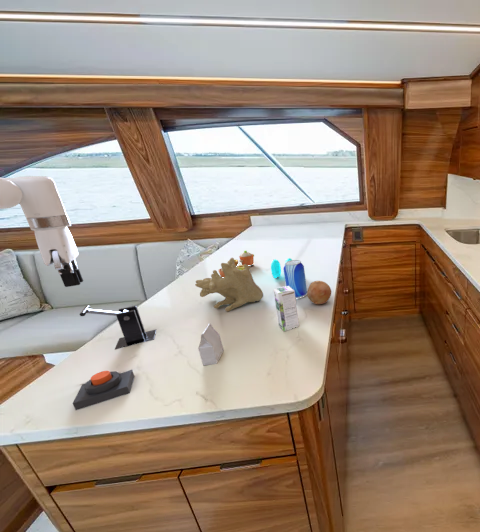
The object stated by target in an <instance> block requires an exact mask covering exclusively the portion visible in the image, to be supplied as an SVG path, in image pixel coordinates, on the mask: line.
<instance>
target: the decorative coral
mask: <svg viewBox="0 0 480 532" xmlns="http://www.w3.org/2000/svg"><path fill="white" fill-rule="evenodd" d="M234 259H235V258H234V257H230V259H229V260H228V261H229V262H228V261H227V262H228V263H227V262H221V263H220V266H221V268H222V270H223V272H224V274H225V277H224V278H222V277H221V276H220V273H219V272H218V271H217V270H216V269H213V270H212V273H211V275H210V277H205V278H203V279H196V280H195V287H197V288H199V289H201V290H200V292H199V297H201V298H204V297H207V296H208V295H210V294H219V295H221V296H222V297H224V299H223V300H219V301H217V302H216V304H214V305H213V309H219V308H220V307H221V306H226V307H225V308H224V311H225V312H227V313H228V312H231V311H232V310H233V309H236V308H240V307H241V306H243V305H245V304H247V303H256V302H255V301H257V302H260V301H261V300H262V299H263V298H264V293H263V290H262V289H261V287H260V286H259V285H257V283H256V282H255V280H254V277H253V274H252V272H251V267H250V266H247V264H244V267H245V269H244V270H239V269H238V268H237V267H236V265H235V261H234ZM226 263H227V264H226Z"/></svg>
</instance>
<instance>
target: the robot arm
mask: <svg viewBox="0 0 480 532" xmlns="http://www.w3.org/2000/svg"><path fill="white" fill-rule="evenodd" d="M18 205H20V208H21V209H22V212H23V214H24V216H25V219H26V221H27V223H28V226H29V228H30V231H34V237H35V241H36V244H37V247H38V250H39V254H40V256H41V258H42V261H43V264H44V265H45V266H47V267H49V266H50V267H51V266H52V265H53V266H54V269H55V270H57V272H58V274H59V276H60V278H61V281H62V284H63V286H64V288H69V287H75V286H80V285H81V283H84V278H83V276H82V274H81V271H80V269H79V265H78V263H77V260H76V259H77V258H78V257H79V251H78V247H77V244H76V242H75V240H74V238H73V235H72V233H71V231H70V229H69V227H72V224H71V221H70V218H69V216H68V213H67V210H66V207H65V206H64V202H63V201H62V198H61V195H60V192H59V189H58V187H57V184H56V182H55V180H54V179H53V178H52V177H49V176H44V175H34V176H33V175H32V176H31V175H29V176H16V177H0V210H7V209H12V208H14V207H16V206H18Z"/></svg>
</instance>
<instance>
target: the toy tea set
mask: <svg viewBox="0 0 480 532" xmlns="http://www.w3.org/2000/svg"><path fill="white" fill-rule="evenodd" d="M238 257H239V259H235V258H234V261H235V265H236V266H237V264H238V263H240V266H237V268H238V269H239V270H244V269H245V267H244V264H247V266H248V265H252V264H253V263H254V262H255V261H254V257H255V254H254V253H252V252H249V251H248V250H243V252H242V253H240V255H239V256H238ZM228 262H229V260H227V262H225V263H226V264H227V263H228ZM217 272H218V274H219V275H220V276H221V277H225V274H224V272H223V270H222V267H221V268H219V269H218V271H217Z"/></svg>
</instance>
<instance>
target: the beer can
mask: <svg viewBox="0 0 480 532" xmlns="http://www.w3.org/2000/svg"><path fill="white" fill-rule="evenodd" d="M283 276H284V282H285V286H290V287H291V288H292V289H293V290H294V291H295V298H300V297H303V296H305V295H307V291H308V288H307V280H306V271H305V265H304V264H303V263H302V261H301V260H300V259H292V260H291V261H287V262H285V261H284V266H283ZM305 297H306V296H305Z"/></svg>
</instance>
